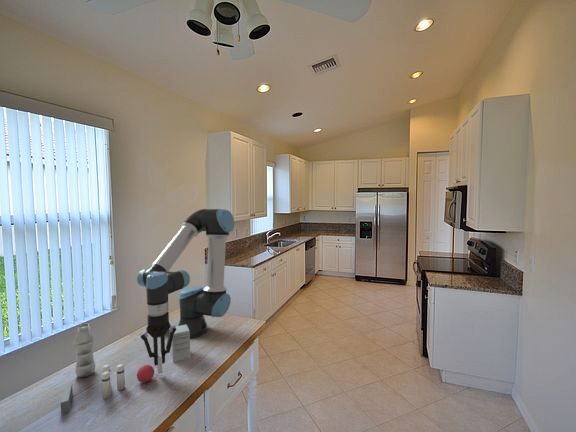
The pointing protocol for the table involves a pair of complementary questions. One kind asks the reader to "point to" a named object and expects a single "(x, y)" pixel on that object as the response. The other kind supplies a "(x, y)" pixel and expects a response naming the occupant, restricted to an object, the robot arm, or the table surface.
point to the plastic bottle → (84, 351)
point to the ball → (145, 373)
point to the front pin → (120, 377)
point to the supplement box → (181, 343)
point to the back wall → (66, 399)
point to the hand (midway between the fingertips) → (159, 371)
